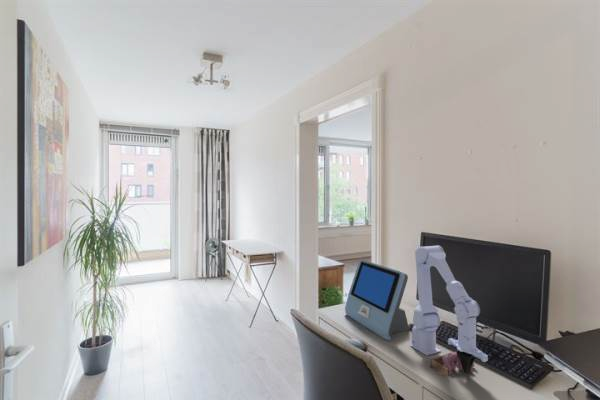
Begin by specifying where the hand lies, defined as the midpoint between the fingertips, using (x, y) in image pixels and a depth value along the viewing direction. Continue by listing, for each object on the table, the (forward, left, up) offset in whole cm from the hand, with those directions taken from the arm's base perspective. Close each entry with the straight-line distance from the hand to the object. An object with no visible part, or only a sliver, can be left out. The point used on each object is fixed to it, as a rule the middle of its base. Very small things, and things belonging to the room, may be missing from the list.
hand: (466, 372), depth 114 cm
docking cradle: (-6, 0, -1) cm, 6 cm away
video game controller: (-4, 0, -2) cm, 4 cm away
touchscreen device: (-51, 0, -2) cm, 51 cm away
